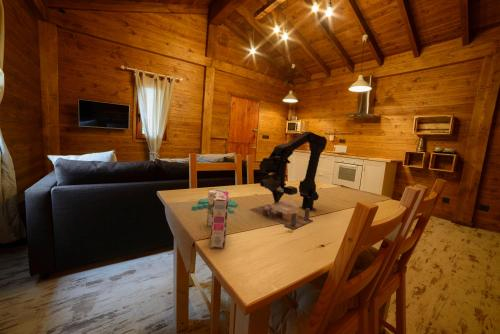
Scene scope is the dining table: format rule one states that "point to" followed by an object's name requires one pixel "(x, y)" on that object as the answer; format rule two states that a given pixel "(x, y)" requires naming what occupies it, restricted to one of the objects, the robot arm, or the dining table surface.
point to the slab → (285, 207)
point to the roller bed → (278, 216)
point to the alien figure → (204, 204)
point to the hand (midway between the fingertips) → (276, 204)
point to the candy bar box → (219, 220)
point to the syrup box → (211, 205)
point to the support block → (289, 216)
